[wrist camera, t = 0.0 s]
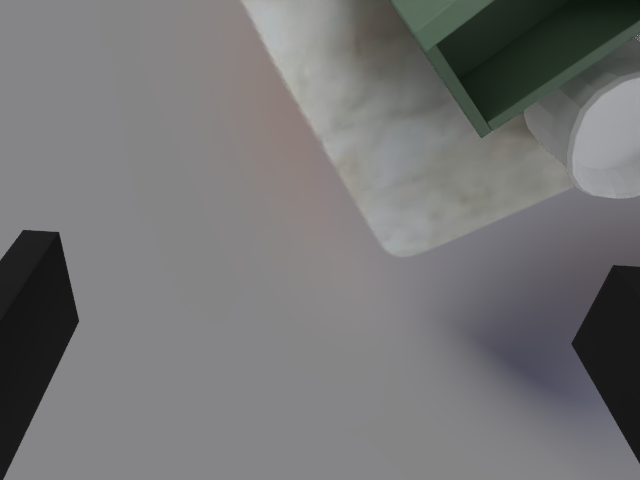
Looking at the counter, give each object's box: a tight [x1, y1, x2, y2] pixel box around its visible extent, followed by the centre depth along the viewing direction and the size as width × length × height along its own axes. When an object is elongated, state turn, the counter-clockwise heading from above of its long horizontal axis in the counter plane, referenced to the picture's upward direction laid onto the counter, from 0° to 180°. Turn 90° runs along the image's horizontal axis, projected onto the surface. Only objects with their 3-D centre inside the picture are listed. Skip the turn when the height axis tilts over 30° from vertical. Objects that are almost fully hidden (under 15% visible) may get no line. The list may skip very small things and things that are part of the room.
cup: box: [524, 38, 640, 199], centre depth 38 cm, size 10×10×10 cm
